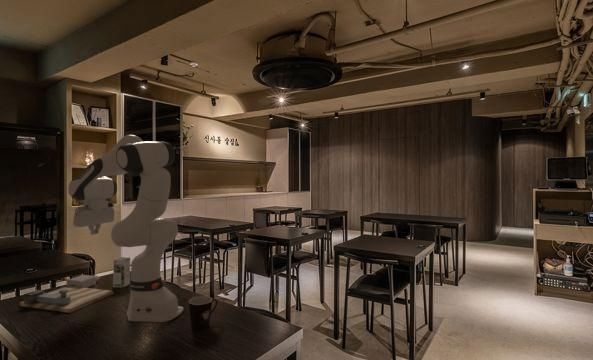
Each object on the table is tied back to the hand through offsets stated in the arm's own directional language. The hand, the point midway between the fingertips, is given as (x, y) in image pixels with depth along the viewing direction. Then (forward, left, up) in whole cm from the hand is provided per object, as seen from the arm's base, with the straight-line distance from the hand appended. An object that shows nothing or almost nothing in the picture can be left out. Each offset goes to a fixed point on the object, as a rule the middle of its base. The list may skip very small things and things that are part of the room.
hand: (94, 234), depth 157 cm
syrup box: (-2, -15, -29) cm, 33 cm away
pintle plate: (+6, +8, -29) cm, 31 cm away
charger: (+16, -12, -30) cm, 36 cm away
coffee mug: (-66, +15, -29) cm, 74 cm away
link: (+8, +15, -27) cm, 32 cm away
